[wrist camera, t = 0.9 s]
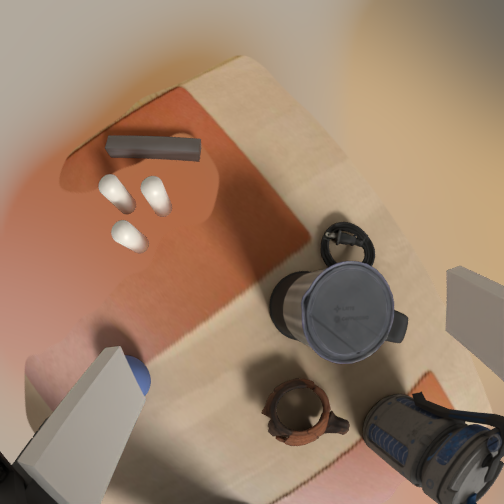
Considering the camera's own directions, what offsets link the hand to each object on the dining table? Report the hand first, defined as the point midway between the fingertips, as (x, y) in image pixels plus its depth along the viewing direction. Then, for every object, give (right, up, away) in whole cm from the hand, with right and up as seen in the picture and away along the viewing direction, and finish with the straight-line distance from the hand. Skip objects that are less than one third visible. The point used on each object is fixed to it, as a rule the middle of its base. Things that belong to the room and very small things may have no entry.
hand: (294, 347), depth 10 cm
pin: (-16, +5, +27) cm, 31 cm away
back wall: (-15, +17, +28) cm, 36 cm away
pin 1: (-18, +10, +27) cm, 34 cm away
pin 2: (-13, +9, +28) cm, 32 cm away
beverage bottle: (+20, -22, +28) cm, 41 cm away
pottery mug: (+5, -19, +27) cm, 33 cm away
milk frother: (+8, 0, +30) cm, 31 cm away
